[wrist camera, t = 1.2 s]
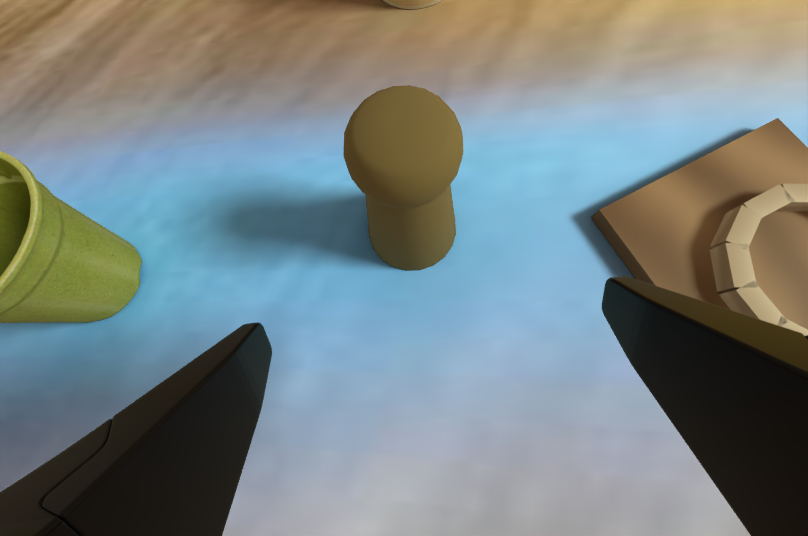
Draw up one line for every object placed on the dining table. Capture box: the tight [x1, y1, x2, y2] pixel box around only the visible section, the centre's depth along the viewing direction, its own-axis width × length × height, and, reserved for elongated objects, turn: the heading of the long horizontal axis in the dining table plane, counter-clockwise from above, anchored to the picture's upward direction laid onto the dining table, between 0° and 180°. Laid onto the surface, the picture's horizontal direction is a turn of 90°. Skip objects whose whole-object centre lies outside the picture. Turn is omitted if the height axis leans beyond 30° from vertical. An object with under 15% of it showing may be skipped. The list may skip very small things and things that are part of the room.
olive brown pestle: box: [344, 86, 463, 270], centre depth 19 cm, size 6×6×11 cm
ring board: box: [591, 118, 808, 336], centre depth 21 cm, size 14×16×2 cm
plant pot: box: [0, 151, 142, 323], centre depth 21 cm, size 9×9×9 cm
